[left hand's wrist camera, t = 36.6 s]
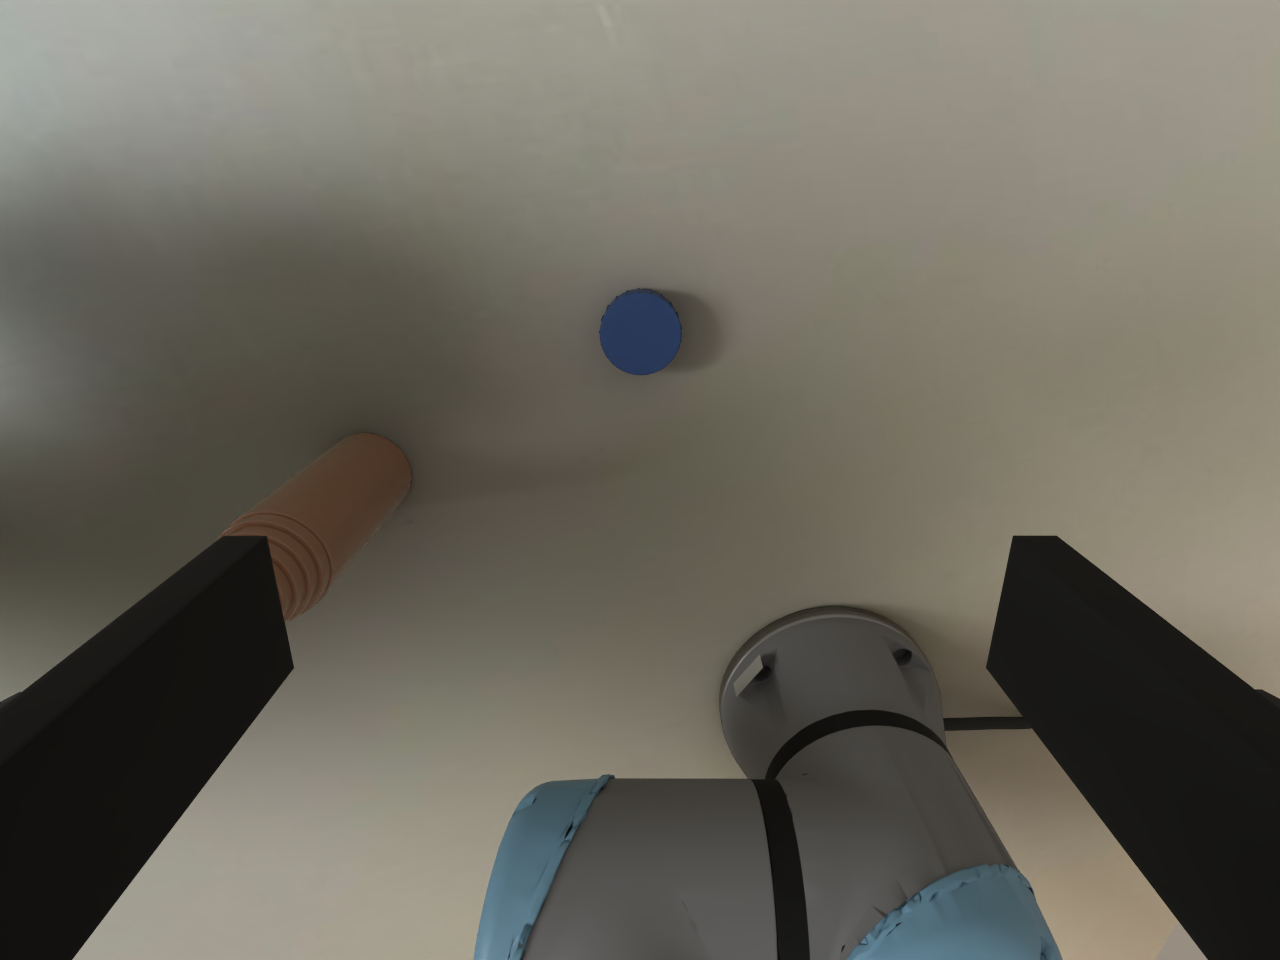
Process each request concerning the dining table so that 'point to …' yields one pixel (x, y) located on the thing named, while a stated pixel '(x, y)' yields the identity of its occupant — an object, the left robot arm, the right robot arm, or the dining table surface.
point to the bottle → (327, 515)
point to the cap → (640, 332)
